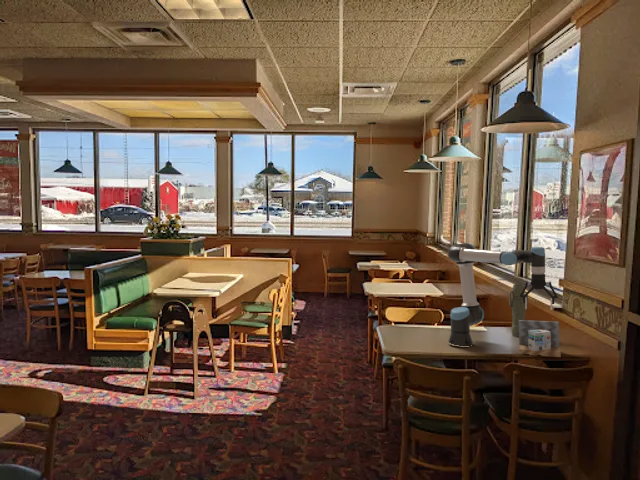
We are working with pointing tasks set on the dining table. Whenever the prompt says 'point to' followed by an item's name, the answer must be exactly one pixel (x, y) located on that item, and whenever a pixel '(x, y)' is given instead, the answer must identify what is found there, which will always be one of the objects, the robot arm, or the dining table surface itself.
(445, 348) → the dining table surface
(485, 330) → the dining table surface
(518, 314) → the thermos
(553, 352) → the wall board
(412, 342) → the dining table surface
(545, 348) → the light bulb box
